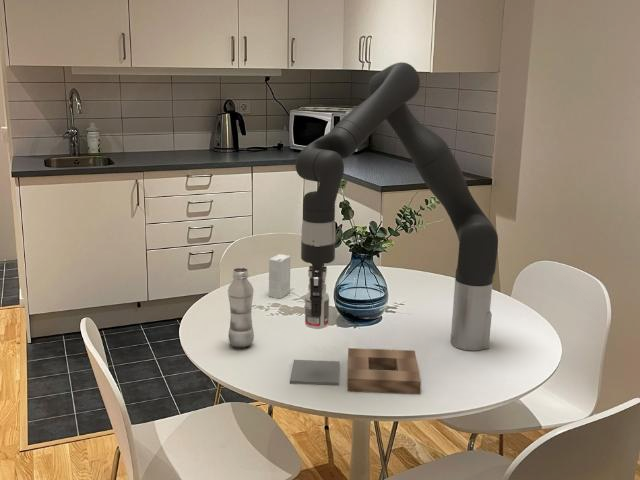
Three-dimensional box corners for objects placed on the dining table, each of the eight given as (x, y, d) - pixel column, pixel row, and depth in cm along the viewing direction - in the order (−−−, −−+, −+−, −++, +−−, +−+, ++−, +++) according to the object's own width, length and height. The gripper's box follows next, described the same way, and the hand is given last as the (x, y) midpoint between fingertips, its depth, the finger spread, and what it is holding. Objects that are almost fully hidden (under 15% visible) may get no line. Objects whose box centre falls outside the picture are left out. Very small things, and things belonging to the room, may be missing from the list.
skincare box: (278, 290, 218) (278, 253, 215) (290, 293, 216) (291, 255, 213) (267, 296, 213) (267, 258, 209) (280, 299, 211) (280, 260, 207)
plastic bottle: (254, 339, 182) (254, 265, 177) (253, 350, 176) (252, 274, 170) (229, 339, 182) (228, 265, 177) (227, 350, 176) (225, 274, 170)
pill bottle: (320, 318, 165) (320, 279, 163) (333, 326, 161) (334, 286, 158) (300, 323, 162) (300, 283, 160) (313, 331, 158) (313, 290, 156)
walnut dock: (414, 361, 172) (414, 350, 171) (420, 393, 156) (420, 381, 155) (347, 359, 172) (348, 348, 171) (347, 390, 157) (347, 378, 156)
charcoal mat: (339, 363, 170) (339, 361, 170) (338, 385, 159) (338, 382, 159) (293, 361, 170) (293, 359, 170) (289, 383, 160) (290, 380, 160)
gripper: (303, 230, 163) (302, 299, 168) (298, 248, 149) (297, 322, 154) (336, 231, 163) (334, 300, 168) (334, 249, 149) (332, 323, 154)
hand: (316, 310), depth 161 cm, fingers closed on pill bottle, 5 cm apart
